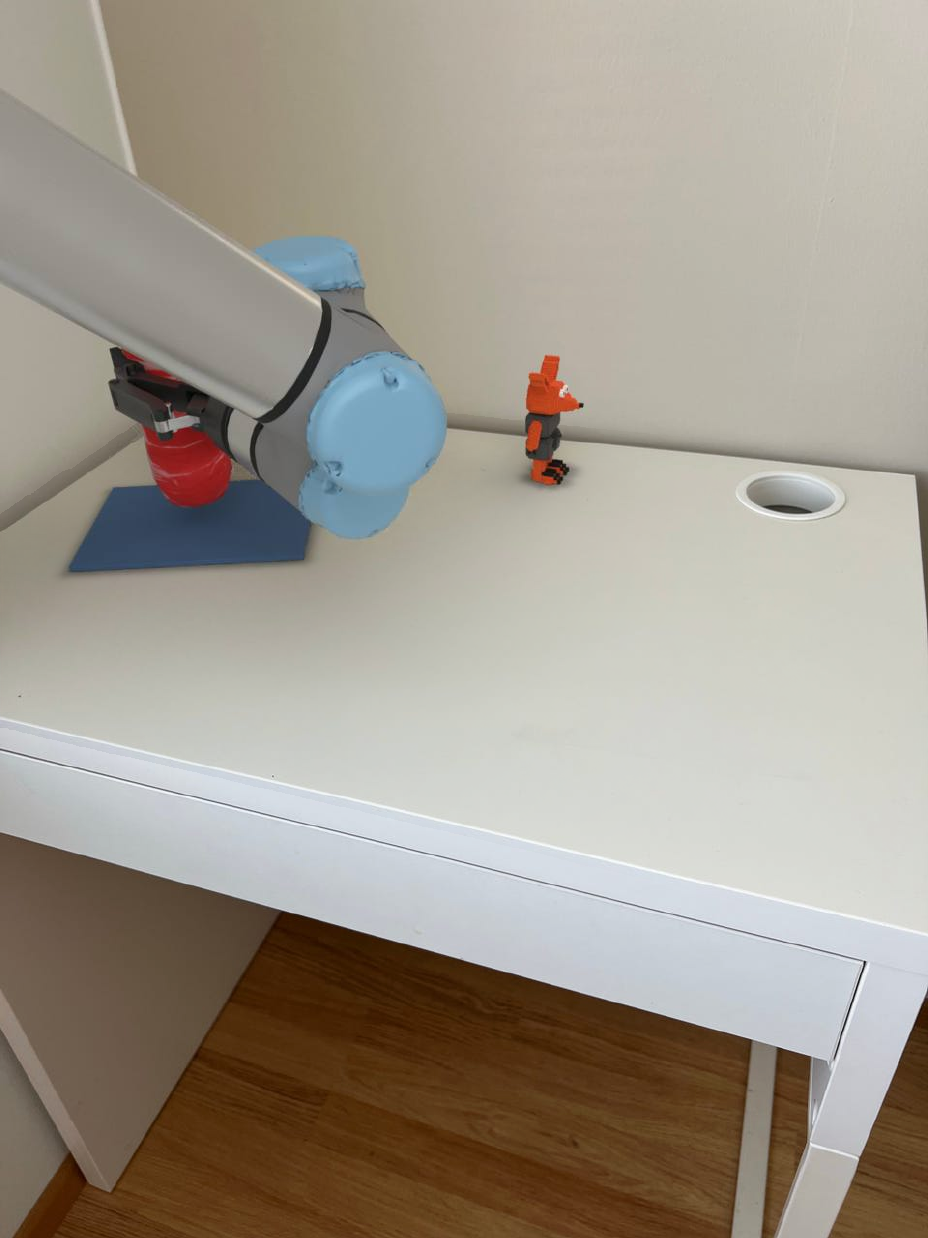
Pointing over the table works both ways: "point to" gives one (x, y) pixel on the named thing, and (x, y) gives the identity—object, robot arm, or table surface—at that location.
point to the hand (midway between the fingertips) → (157, 350)
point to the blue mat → (192, 530)
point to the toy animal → (546, 421)
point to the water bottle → (185, 460)
